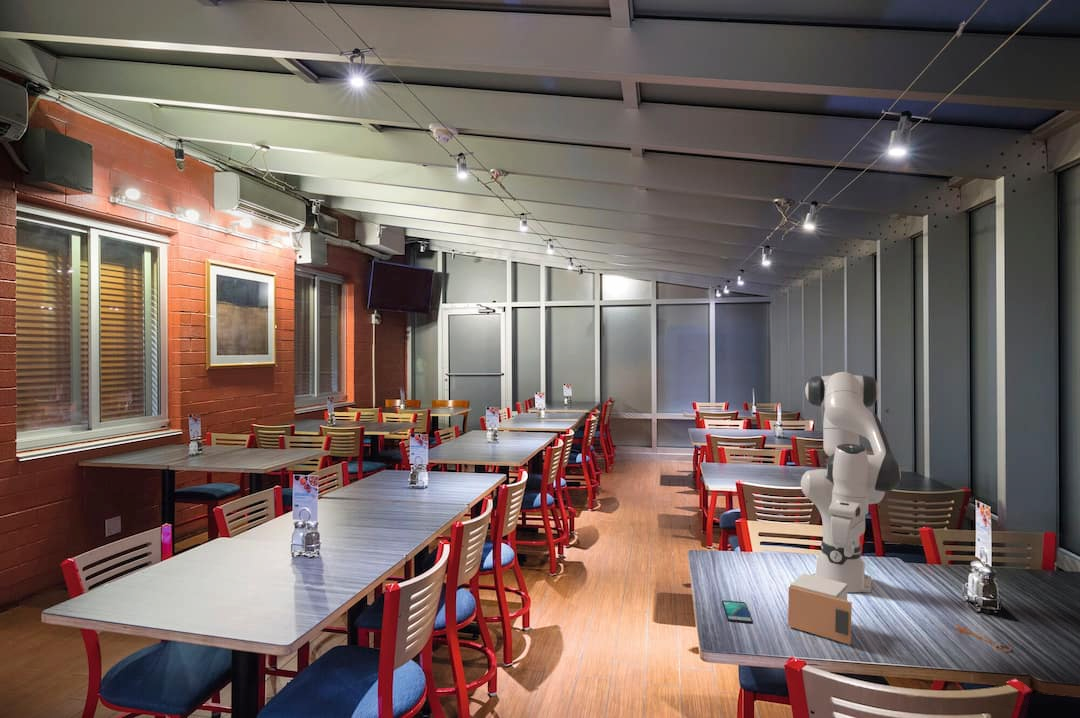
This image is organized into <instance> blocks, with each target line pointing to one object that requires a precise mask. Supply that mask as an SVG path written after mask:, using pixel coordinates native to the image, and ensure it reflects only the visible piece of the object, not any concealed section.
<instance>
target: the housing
mask: <svg viewBox="0 0 1080 718" xmlns="http://www.w3.org/2000/svg"><path fill="white" fill-rule="evenodd" d="M790 586H791V587H795V588H799V589H802V590H806V591H810V592H814V593H818V594H822V595H826V596H830V597H834V598H838V599H841V600H845V601H848V592H847V584H846V583H842V582H838V581H833V580H829V579H825V578H821V577H817V576H813V575H812V574H807V573H802V574H801V575H800V576H799V577H797V578H796V579H795V580H794V581H792V582H791V583H790V585H789V587H790Z"/></svg>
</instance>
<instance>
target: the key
mask: <svg viewBox="0 0 1080 718" xmlns="http://www.w3.org/2000/svg"><path fill="white" fill-rule="evenodd" d="M952 629H953V630H954V631H956V632H957V633H960V634H961V635H972V636H974V637H976V638H977V639H980V640H982V641H984V642H986V643H988V644H990V645H992V646H995V647H994V649H995V650H996V651H998V652H1002V653H1012V649H1011V647H1009V646H1007V645H999V644H997V643H996V642H993V641H991V640H990V639H987V638H985V637H983V636H982V635H979V634H977V633H976V632H973V631H971V630H970V629H967V628H965V627H963V626H962V625H957V627H954V628H952ZM1004 648H1005V649H1006V650H1005V649H1004ZM1003 649H1004V650H1003Z"/></svg>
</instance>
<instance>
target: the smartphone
mask: <svg viewBox="0 0 1080 718" xmlns="http://www.w3.org/2000/svg"><path fill="white" fill-rule="evenodd" d="M721 603H722V606H723V610H724V613H725V617H726V620H727V622H730V623H737V624H748V625H753V624H754V622H753V619H752V617H751V616H752V615H751V613H750V610H749V609H748V606H747V603H746V602H745V601H735V600H734V601H733V600H724V599H723V600H722V601H721Z"/></svg>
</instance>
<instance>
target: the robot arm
mask: <svg viewBox="0 0 1080 718" xmlns="http://www.w3.org/2000/svg"><path fill="white" fill-rule="evenodd" d="M804 390H805V391H804V392H805V396H806V399H807V401H808V403H809V404H810V405H812V406H815V407H824V412H823V422H822V425H823V427H822V429H823V430H822V432H823V436H822V437H823V445H822V446H823V451H824V453H825V454H826V455H827V456H828V457H827V458H826V460H825V462H826V469H825V468H823V469H822V468H818V469H810V470H806V471H805V472H804V474H802V476H801V479H800V488H801V492H802V493H803V494H804V496H805V497H806V498H807V499H808V500H810V501H811V502H812V503H813V505H815V506H816V508H817V510H818V512H819V514H820V516H821V521H822V540H821V544H820V547H821V548H820V551H821V552H820V553H819V554H818V555H817V556H816V562H815V571H814V573H813V574H811V575H813V576H817V577H821V578H825V579H829V580H833V581H838V582H842V583H846V584H847V593H872V586H873V585H872V584H873V583H872V581H873V580H872V577H871V575H868V574H866V573H865V571H866V570H865V566H866V565H865V564H866V563H865V562H864V560H863V558H862V549H861V545H862V544H861V542H860V537H861V536H862V535H863V534H865V531H866V515H867V514H869V505H874V504H879V503H880V502H881V501H882V500H883V498H884V496H885V494H886V493H889V492H891V491H893V490H894V489H896V488H897V487H899V486H900V484H901V476H902V475H901V469H900V466H899V463H898V460H897V459H896V458H895V456H894V454H893V451H892V449H891V447H890V446H891V445H890V444H889V441H888V438H887V435H886V433H885V430H884V428H883V425H882V422H881V420H880V419H879V417H878V415H877V414H875V413H874V412H872V411H871V410H869V408H870V407H871V408H872V406H873V405H874V404H876V403H877V399H878V397H879V395H880V387H879V385H878V382H877V381H876V379H875V377H873V376H868V375H864V374H862V375H857V374H852V373H850V372H847V371H838V372H836V373H833V374H832V375H831V374H830V375H823V376H821V375H816V376H812V377H810V378H809V379H808V380H807V383H806V385H805V389H804ZM860 436H861V437H864V438H865V439H866V440H868V441H869V444H870V446H871V449H872V452H873V454H868V452H867V449H866V448H865V447H863V446H862V445H860V444H861V443H860Z"/></svg>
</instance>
